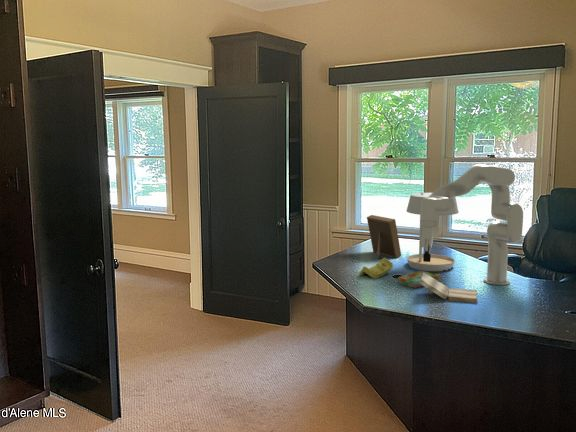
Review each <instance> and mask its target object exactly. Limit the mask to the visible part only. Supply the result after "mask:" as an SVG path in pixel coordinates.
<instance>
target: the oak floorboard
mask: <svg viewBox="0 0 576 432" xmlns="http://www.w3.org/2000/svg"><path fill="white" fill-rule="evenodd" d="M448 288H449V289H448V296H447V301H449V302H461V303H472V304H478V291H477V289H466V288H453V287H448Z"/></svg>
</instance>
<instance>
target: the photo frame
mask: <svg viewBox="0 0 576 432" xmlns="http://www.w3.org/2000/svg"><path fill="white" fill-rule="evenodd" d="M366 220H367V225H368V231H369V236H370V241H371V247H372V251H373V253H376V258H377V259H379V258H380V255H383V256H387V257H391V258H394V259H399V258H400V257H402V251H401V246H400V240H399V234H398V229H397V223H396V221H397V220H396V219H395V218H390V217H384V216H379V215H375V214H374V215H373V214H370V215H368V216H367V217H366Z"/></svg>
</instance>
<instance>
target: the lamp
mask: <svg viewBox="0 0 576 432" xmlns="http://www.w3.org/2000/svg"><path fill="white" fill-rule="evenodd" d="M432 193H433V192H414V193H411V194H410V196H409V200H408V203H407V208H406V213H409V214H412V215H419V216H420V215H421V200H422V198H427V197H429V196H430V195H431V194H432ZM456 198H457V196H456V197H451V198H450V199H452V200H453V202H454V208H453V210H452V211H450V212H448V213H440V212H438V213H437V216H452V215H457V214H458V213H459V208H458V207H459V206H458V204H457V199H456ZM421 235H422V227H420V226H419V238H418V239H419V242H418V243H419V246H418V251H419V252H418V253H417V254H411V255H408V256H407V257H406V260H407V263H408V266H409V267H410V268H412V269H415V270H418V271H419V270H420V271H425V272H444V271H443V270H446V271H449V270H448V269H450V270H452V269H453V268H454V265H455V262H456V259H455V258H453V257H451V256H448V255H443V254H435V253H431V259H430V262H424V261H423V256H424V253H423V247H422V248H421ZM452 267H453V268H452ZM451 268H452V269H451Z"/></svg>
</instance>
